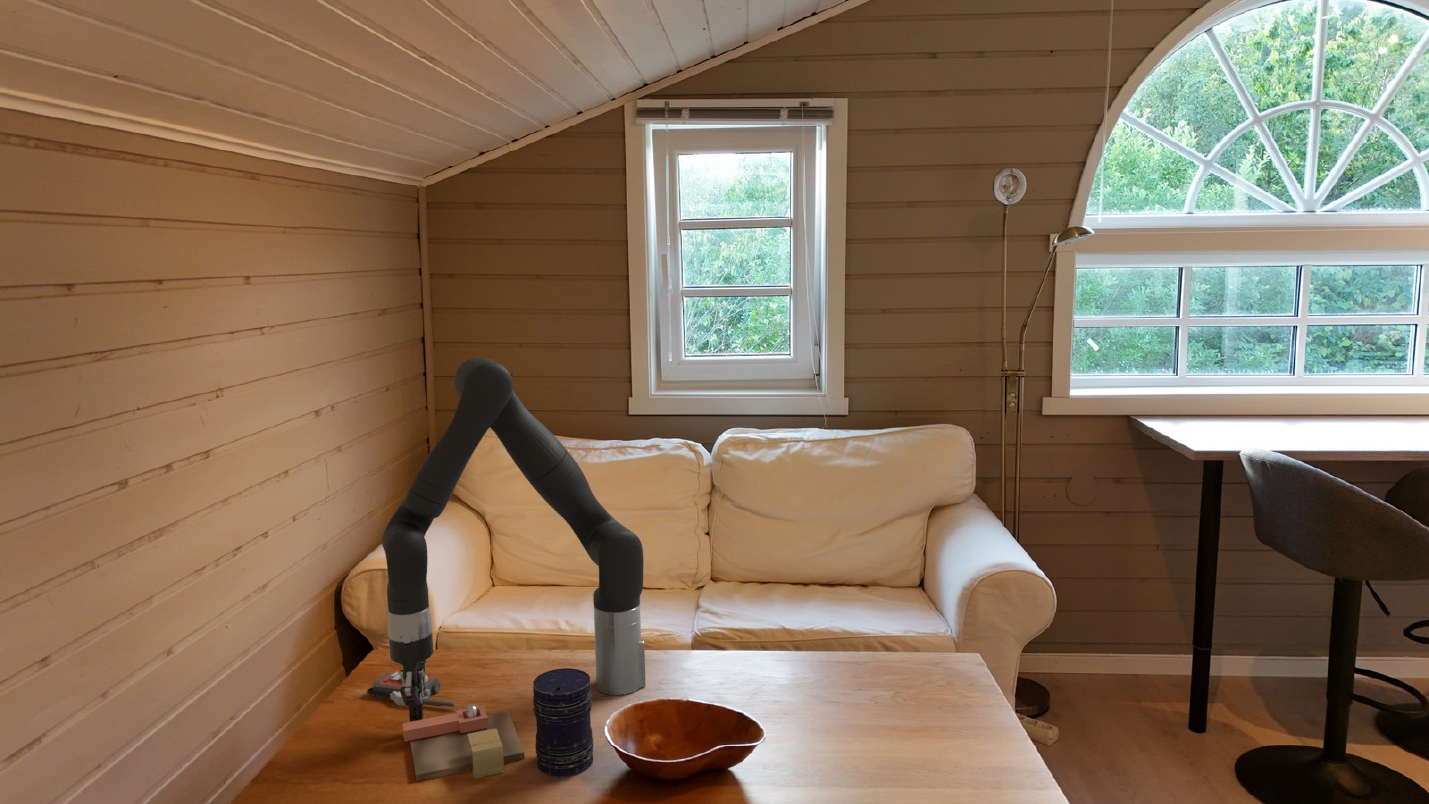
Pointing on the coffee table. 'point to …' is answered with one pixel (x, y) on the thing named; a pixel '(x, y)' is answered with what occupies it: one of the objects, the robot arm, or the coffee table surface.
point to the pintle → (471, 711)
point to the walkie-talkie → (392, 684)
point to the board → (461, 749)
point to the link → (445, 724)
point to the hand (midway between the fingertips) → (416, 720)
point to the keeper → (486, 753)
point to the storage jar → (563, 722)
